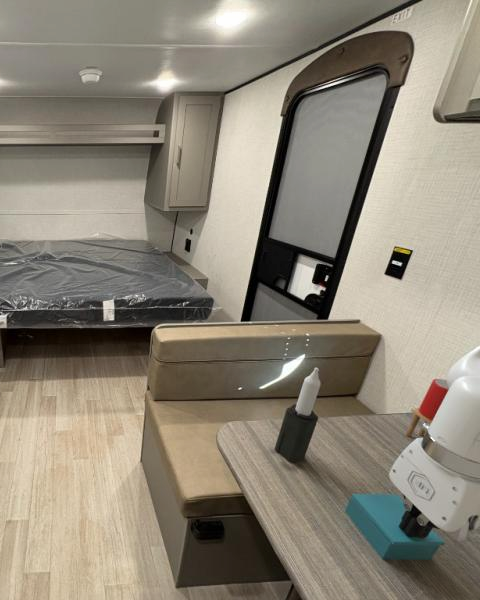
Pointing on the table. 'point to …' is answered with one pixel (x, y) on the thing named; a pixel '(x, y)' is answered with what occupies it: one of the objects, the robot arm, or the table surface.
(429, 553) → the teal hinged box
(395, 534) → the lid
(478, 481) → the robot arm
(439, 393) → the can
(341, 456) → the table surface
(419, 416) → the stool
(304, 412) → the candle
